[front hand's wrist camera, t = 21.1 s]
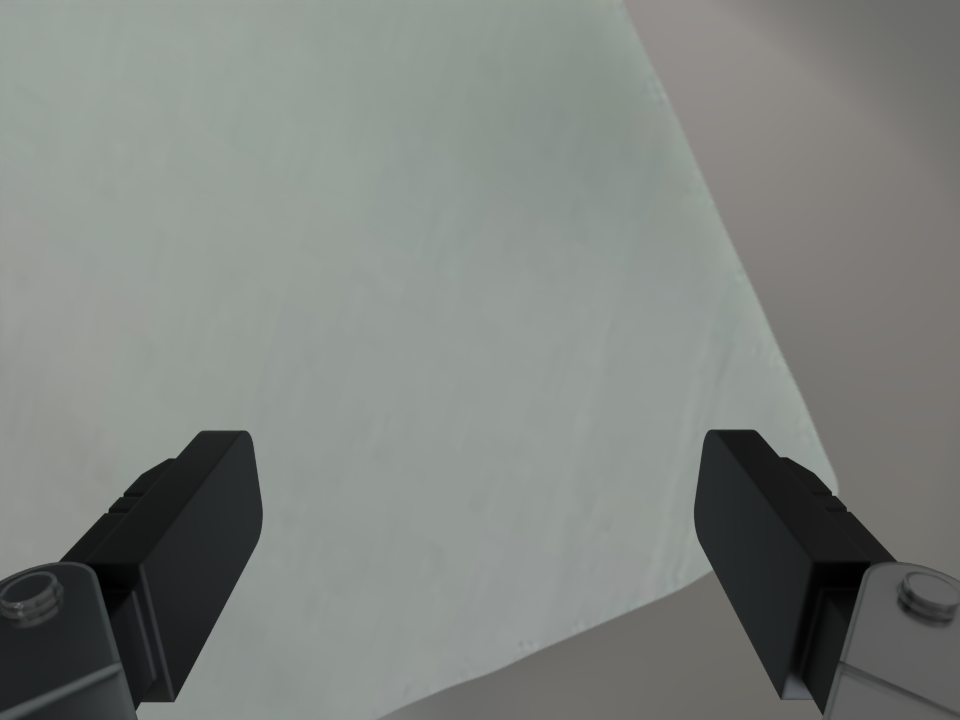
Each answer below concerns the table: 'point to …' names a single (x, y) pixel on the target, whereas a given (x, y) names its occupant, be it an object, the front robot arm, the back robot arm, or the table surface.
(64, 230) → the table surface
